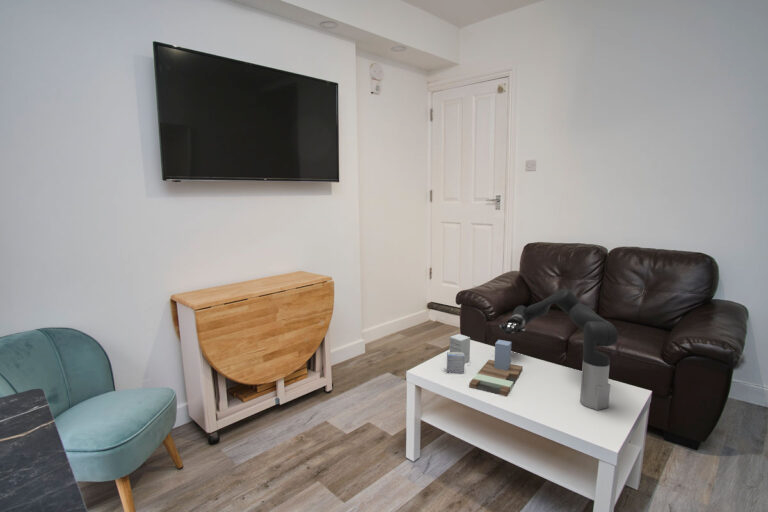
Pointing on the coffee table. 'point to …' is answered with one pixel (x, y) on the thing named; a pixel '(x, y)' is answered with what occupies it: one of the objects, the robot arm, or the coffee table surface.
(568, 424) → the coffee table surface
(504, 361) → the block
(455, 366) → the medicine box
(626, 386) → the coffee table surface
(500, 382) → the pad
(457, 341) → the supplement box
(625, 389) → the coffee table surface
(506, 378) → the deck
